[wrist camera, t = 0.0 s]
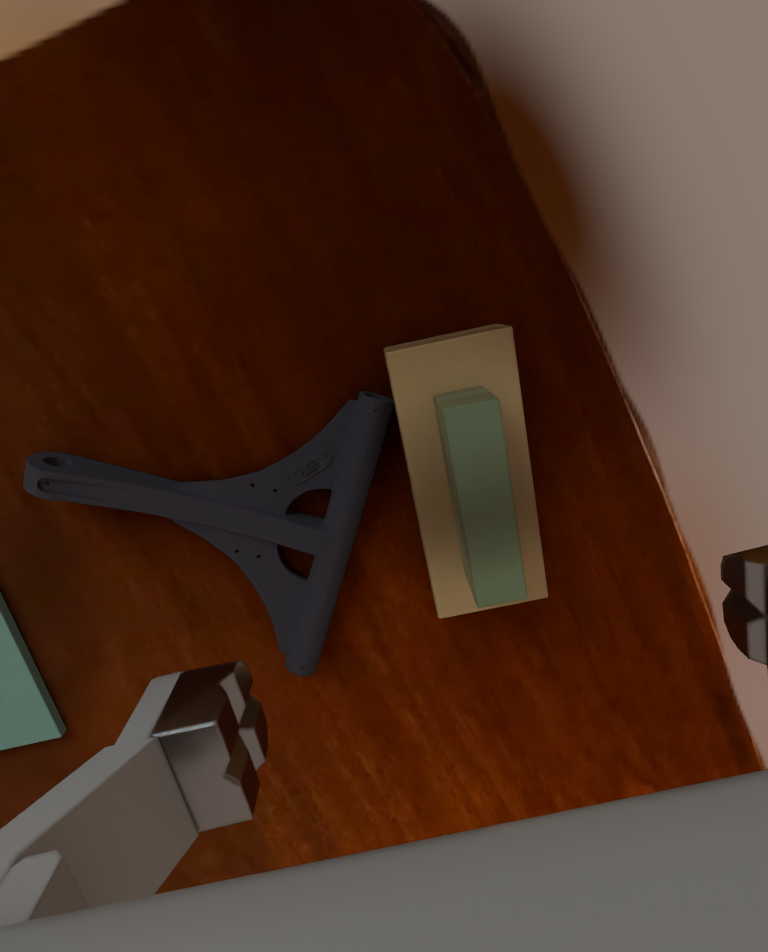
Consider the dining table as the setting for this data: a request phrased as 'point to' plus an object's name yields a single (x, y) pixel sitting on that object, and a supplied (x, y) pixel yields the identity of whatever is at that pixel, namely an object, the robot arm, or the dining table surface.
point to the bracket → (255, 515)
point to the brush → (469, 467)
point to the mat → (22, 692)
